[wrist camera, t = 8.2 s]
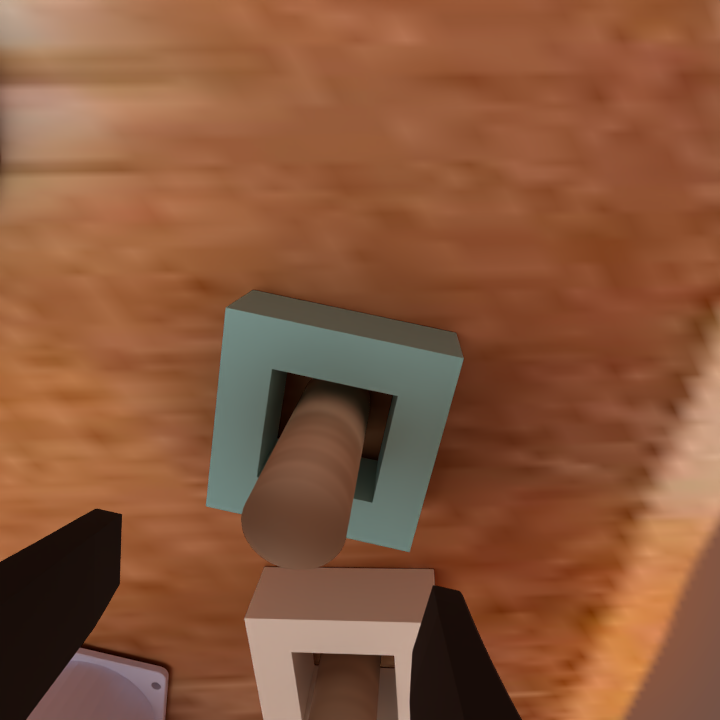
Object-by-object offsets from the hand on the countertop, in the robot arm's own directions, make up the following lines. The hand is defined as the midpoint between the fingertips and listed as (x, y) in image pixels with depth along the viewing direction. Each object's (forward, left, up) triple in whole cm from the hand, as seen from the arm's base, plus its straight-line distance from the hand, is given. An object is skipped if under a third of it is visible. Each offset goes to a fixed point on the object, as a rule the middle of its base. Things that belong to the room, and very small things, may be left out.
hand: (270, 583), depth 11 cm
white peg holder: (-12, -3, -10) cm, 16 cm away
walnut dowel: (-12, -3, -10) cm, 16 cm away
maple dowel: (0, 0, -10) cm, 10 cm away
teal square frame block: (0, 0, -10) cm, 10 cm away
